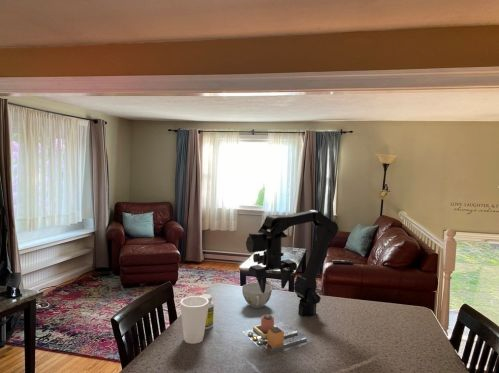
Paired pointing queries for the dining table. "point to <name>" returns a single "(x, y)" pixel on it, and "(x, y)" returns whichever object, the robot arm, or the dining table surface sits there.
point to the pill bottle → (209, 311)
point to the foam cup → (194, 318)
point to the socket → (256, 329)
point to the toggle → (275, 337)
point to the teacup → (256, 294)
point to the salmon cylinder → (267, 323)
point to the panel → (290, 339)
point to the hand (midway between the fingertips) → (272, 290)
